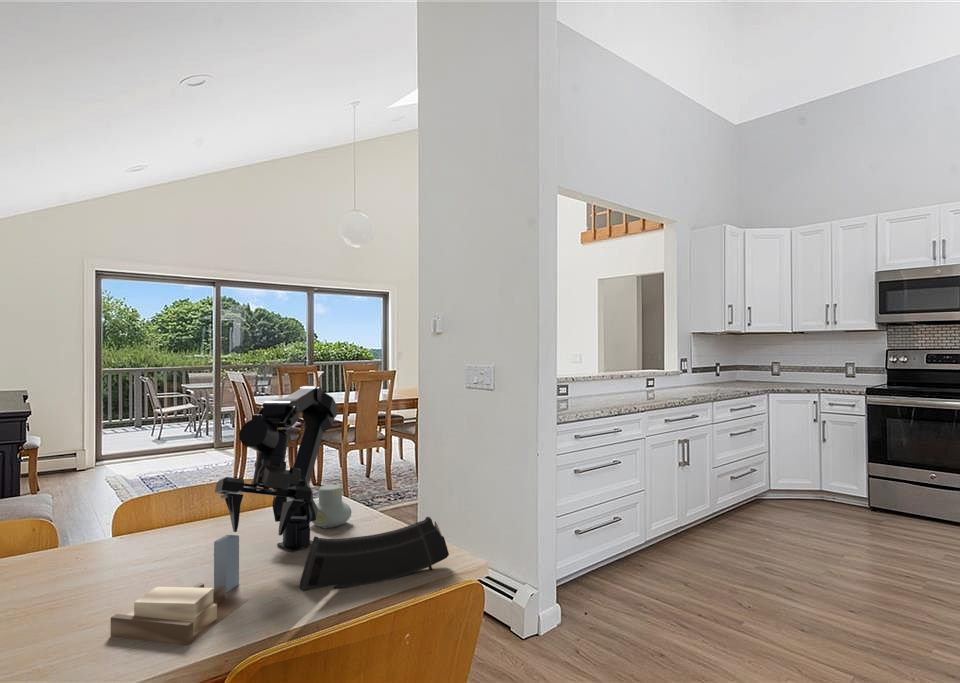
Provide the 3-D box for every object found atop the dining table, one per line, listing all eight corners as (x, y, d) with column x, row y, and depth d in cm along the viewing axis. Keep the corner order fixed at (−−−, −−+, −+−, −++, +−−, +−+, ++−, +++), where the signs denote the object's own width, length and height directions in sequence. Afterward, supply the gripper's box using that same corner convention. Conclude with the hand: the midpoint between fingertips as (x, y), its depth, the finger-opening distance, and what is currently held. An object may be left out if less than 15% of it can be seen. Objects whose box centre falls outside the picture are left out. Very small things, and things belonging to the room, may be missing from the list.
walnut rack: (182, 597, 108) (182, 576, 108) (249, 604, 105) (249, 582, 105) (110, 642, 92) (110, 617, 92) (187, 651, 89) (188, 625, 89)
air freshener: (356, 524, 153) (356, 486, 153) (333, 532, 146) (333, 493, 146) (327, 517, 159) (327, 481, 159) (303, 525, 152) (304, 487, 152)
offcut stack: (156, 611, 100) (157, 582, 100) (218, 617, 98) (218, 588, 98) (123, 632, 93) (123, 601, 93) (188, 639, 91) (189, 607, 91)
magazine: (288, 551, 108) (430, 488, 121) (286, 546, 110) (425, 484, 124) (315, 633, 110) (452, 562, 123) (312, 625, 113) (446, 557, 126)
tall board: (226, 588, 112) (227, 534, 112) (239, 589, 112) (239, 535, 112) (214, 597, 108) (214, 541, 109) (226, 598, 108) (226, 542, 108)
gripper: (238, 444, 112) (221, 528, 106) (327, 458, 122) (317, 535, 116) (222, 452, 120) (205, 530, 114) (307, 465, 130) (296, 537, 124)
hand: (258, 533), depth 117 cm, fingers open, 9 cm apart
